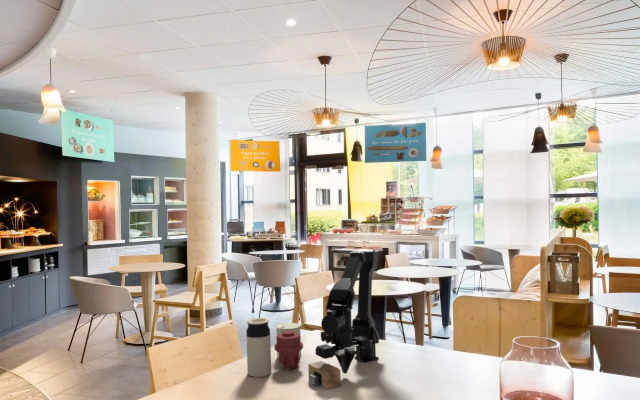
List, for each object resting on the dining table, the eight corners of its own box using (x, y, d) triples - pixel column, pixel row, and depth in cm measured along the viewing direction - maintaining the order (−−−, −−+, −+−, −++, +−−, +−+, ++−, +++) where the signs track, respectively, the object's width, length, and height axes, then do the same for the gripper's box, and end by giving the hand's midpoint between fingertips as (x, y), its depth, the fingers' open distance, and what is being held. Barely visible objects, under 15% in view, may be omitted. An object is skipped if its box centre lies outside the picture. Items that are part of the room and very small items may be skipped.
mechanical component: (306, 363, 177) (299, 373, 167) (279, 362, 179) (271, 371, 169) (305, 328, 177) (298, 336, 167) (278, 328, 179) (270, 335, 169)
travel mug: (275, 371, 170) (274, 318, 170) (263, 378, 163) (261, 324, 163) (255, 368, 173) (254, 316, 173) (243, 375, 166) (241, 322, 166)
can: (271, 357, 185) (270, 325, 185) (289, 351, 192) (288, 320, 192) (289, 362, 179) (288, 328, 179) (306, 355, 186) (305, 323, 186)
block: (321, 375, 164) (321, 360, 164) (340, 385, 154) (340, 369, 154) (308, 379, 161) (308, 363, 161) (327, 389, 152) (326, 373, 152)
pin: (328, 377, 162) (328, 363, 162) (339, 382, 157) (338, 368, 157) (307, 383, 158) (306, 368, 158) (317, 388, 153) (316, 373, 153)
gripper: (351, 316, 174) (353, 360, 174) (305, 325, 164) (307, 372, 164) (371, 322, 164) (373, 369, 164) (323, 332, 154) (325, 382, 155)
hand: (344, 373), depth 162 cm, fingers closed
